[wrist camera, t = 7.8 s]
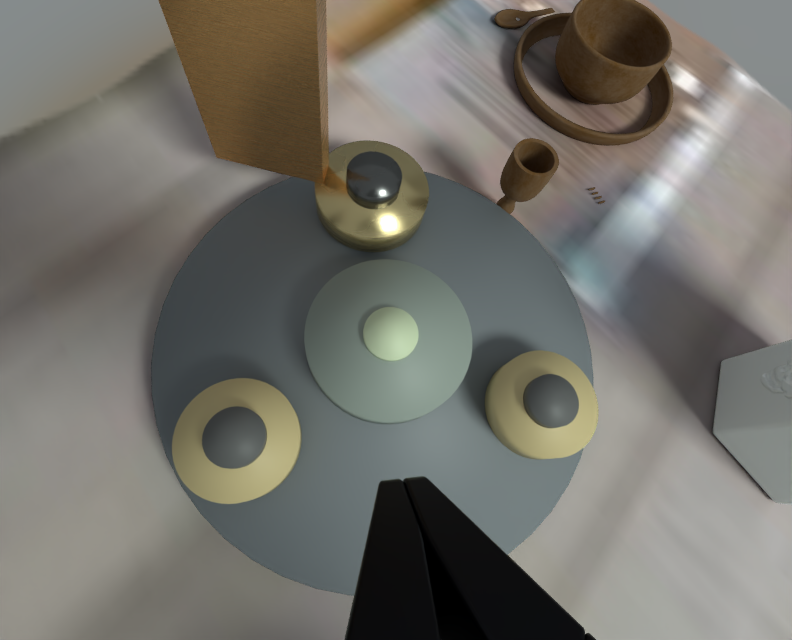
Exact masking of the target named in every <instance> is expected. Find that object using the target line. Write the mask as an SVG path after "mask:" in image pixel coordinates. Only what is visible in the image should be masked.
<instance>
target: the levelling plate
mask: <svg viewBox="0 0 792 640" xmlns="http://www.w3.org/2000/svg"><path fill="white" fill-rule="evenodd" d="M424 174H425V176H426V178H427V181H428V186H429V200H428V204H427V207H426V210H425V213H424V216H423V219H422V222H421V224H420V226H419V229H418V230H417V232H416V233H415V234H414V236H413V237H412V238H411V239H410V240H408V241H407V242H406V243H404V244H403V245H401V246H399V247H397V248H395V249H392V250H388V251H383V252H364V251H358V250H355V249H352V248H349V247H347V246H345V245H343V244H341V243H340V242H338V241H337V240H335V239H334V238H333V237H332V236H331V235H330V234H329V233H328V232H327V231H326V230H325V228H324V227H323V225H322V224H321V222H320V220H319V217H318V214H317V210H316V198H315V182H313V181H309V180H305V179H301V178H297V177H292V178H289V179H287V180H285V181H282V182H280V183H278V184H275V185H273V186H271V187H268V188H267V189H265V190H263V191H261V192H260V193H258V194H256V195H254V196H253V197H251V198H249V199H247V200H246V201H244V202H243V203H242V204H240V205H239V206H238V207H236V208H235V209H234V210H232V211H231V212H230V213H228V214H227V215H226V216H225V217H224V218H222V219H221V220H220V221H219V222H218V223H217V224H216V225H215V226H214V227H213V228H212V229H211V230H210V231H209V232H208V233H207V234H206V235H205V236H204V237H203V239H202V240H201V241H200V242H199V244H198V245H197V246H196V247H195V249H194V250H193V251H192V252H191V254H190V255H189V256H188V258H187V260H186V261H185V263H184V265H183V266H182V268H181V269H180V271H179V273H178V274H177V276H176V278H175V279H174V282H173V284H172V286H171V289H170V291H169V293H168V295H167V298H166V300H165V302H164V305H163V308H162V311H161V315H160V318H159V322H158V326H157V329H156V333H155V339H154V347H153V355H152V362H151V375H152V399H153V405H154V411H155V417H156V424H157V428H158V431H159V434H160V437H161V440H162V443H163V446H164V450H165V453H166V456H167V458H168V460H169V462H170V464H171V466H172V468H173V470H174V472H175V474H176V476H177V478H178V480H179V482H180V484H181V486H182V488H183V489H184V490H185V492H186V493H187V495H188V496H189V498H190V499H191V500H192V502H193V503H194V505H195V506H196V508H197V509H198V510H199V512H200V513H201V514H202V515H203V517H204V518H205V519H206V520H207V521H208V522H209V523H210V524H211V525H212V526H213V527H214V528H215V529H216V530H217V531H218V532H219V533H220V534H221V535H222V536H223V537H224V538H225V539H226V540H227V541H228V542H230V543H231V544H232V545H234V546H235V547H236V548H238V549H239V550H240V551H241V552H243V553H244V554H245V555H247V556H248V557H249V558H250V559H252V560H254V561H255V562H257V563H259V564H261V565H263V566H264V567H266V568H268V569H270V570H272V571H274V572H275V573H277V574H279V575H281V576H283V577H285V578H288V579H291V580H294V581H296V582H299V583H302V584H305V585H307V586H310V587H313V588H316V589H321V590H326V591H331V592H336V593H341V594H346V595H354V594H355V590H356V585H357V581H358V576H359V571H360V567H361V562H362V558H363V553H364V549H365V544H366V539H367V535H368V530H369V526H370V521H371V517H372V512H373V507H374V503H375V498H376V494H377V489H378V485H379V482H380V481H382V480H390V479H401V480H402V481H403V480H404V479H405V478H408V477H417V476H425V477H427V478H428V479H429V480H430V481H431V482H432V483H433V484H434V485H435V486H436V487H437V488H438V489H439V490H440V491H441V492H442V493H444V494H445V495H446V496H447V497H448V498H449V499H450V500H451V501H452V502H453V503H454V504H455V505H456V506H457V507H458V508H459V509H460V510H461V511H462V512H463V513H464V514H465V515H466V516H467V517H469V518H470V519H471V520H472V521H473V522H474V523H475V524H476V525H477V526H478V527H479V528H480V529H481V530H482V531H483V532H484V533H485V534H486V535H487V536H488V537H489V538H490V539H491V540H492V541H494V542H495V543H496V544H497V545H498V546H499V547H500V548H501V549H502V550H503V551H504V552H505V553H506V554H507V555H508V554H509V553H510V552H511V551H512V550H514V549H515V548H516V547H517V546H518V545H519V544H521V543H522V542H523V541H524V540H525V539H526V538H528V537H529V536H530V535H531V534H532V533H533V532H534V531H535V530H536V528H537V527H538V526H539V525H540V524H541V523H542V522H543V520H544V519H545V518H546V517H547V516H548V515H549V513H550V512H551V511H552V510H553V508H554V507H555V505H556V504H557V502H558V500H559V499H560V497H561V496H562V494H563V493H564V491H565V490H566V488H567V486H568V485H569V482H570V480H571V478H572V476H573V474H574V471H575V469H576V467H577V465H578V463H579V461H580V458H581V455H582V451H583V448H584V447H585V446H586V445H587V443H588V442H589V441H590V439H591V438H592V436H593V434H594V432H595V429H596V426H597V421H598V403H597V398H596V395H595V392H594V389H593V369H592V358H591V350H590V346H589V341H588V337H587V332H586V328H585V324H584V321H583V319H582V316H581V313H580V310H579V307H578V304H577V302H576V300H575V298H574V296H573V294H572V292H571V289H570V287H569V285H568V283H567V281H566V279H565V278H564V276H563V275H562V273H561V272H560V270H559V268H558V267H557V265H556V264H555V262H554V261H553V259H552V258H551V256H550V255H549V254H548V253H547V251H546V250H545V249H544V248H543V247H542V245H541V244H540V243H539V242H538V240H537V239H536V238H535V237H534V236H533V235H532V234H531V233H530V232H529V231H528V230H527V229H526V228H525V227H524V226H523V225H522V224H521V223H520V222H519V221H517V220H516V219H515V218H514V217H512V216H511V215H510V214H509V213H507V212H506V211H505V210H504V209H502V208H501V207H500V206H498V205H497V204H495V203H493V202H492V201H490V200H489V199H487V198H486V197H484V196H482V195H481V194H479V193H477V192H475V191H473V190H471V189H469V188H467V187H465V186H463V185H461V184H459V183H457V182H454V181H451V180H448V179H446V178H443V177H440V176H438V175H435V174H431V173H427V172H424Z"/></svg>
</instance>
